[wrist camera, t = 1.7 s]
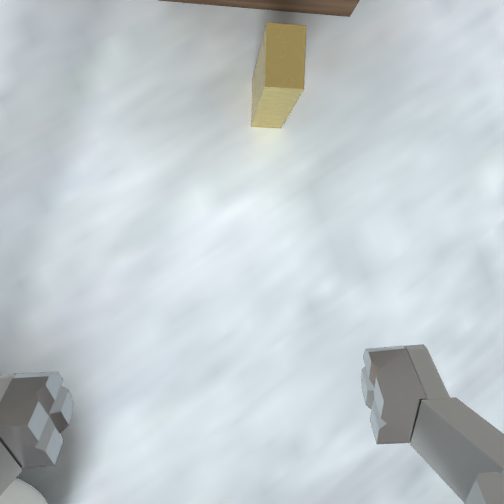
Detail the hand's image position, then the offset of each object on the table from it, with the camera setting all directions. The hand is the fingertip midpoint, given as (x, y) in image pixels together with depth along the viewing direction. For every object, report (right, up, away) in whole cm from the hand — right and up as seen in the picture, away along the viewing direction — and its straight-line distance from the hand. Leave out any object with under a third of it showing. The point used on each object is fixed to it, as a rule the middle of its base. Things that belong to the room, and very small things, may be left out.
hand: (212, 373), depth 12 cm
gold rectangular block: (+2, +16, +24) cm, 29 cm away
